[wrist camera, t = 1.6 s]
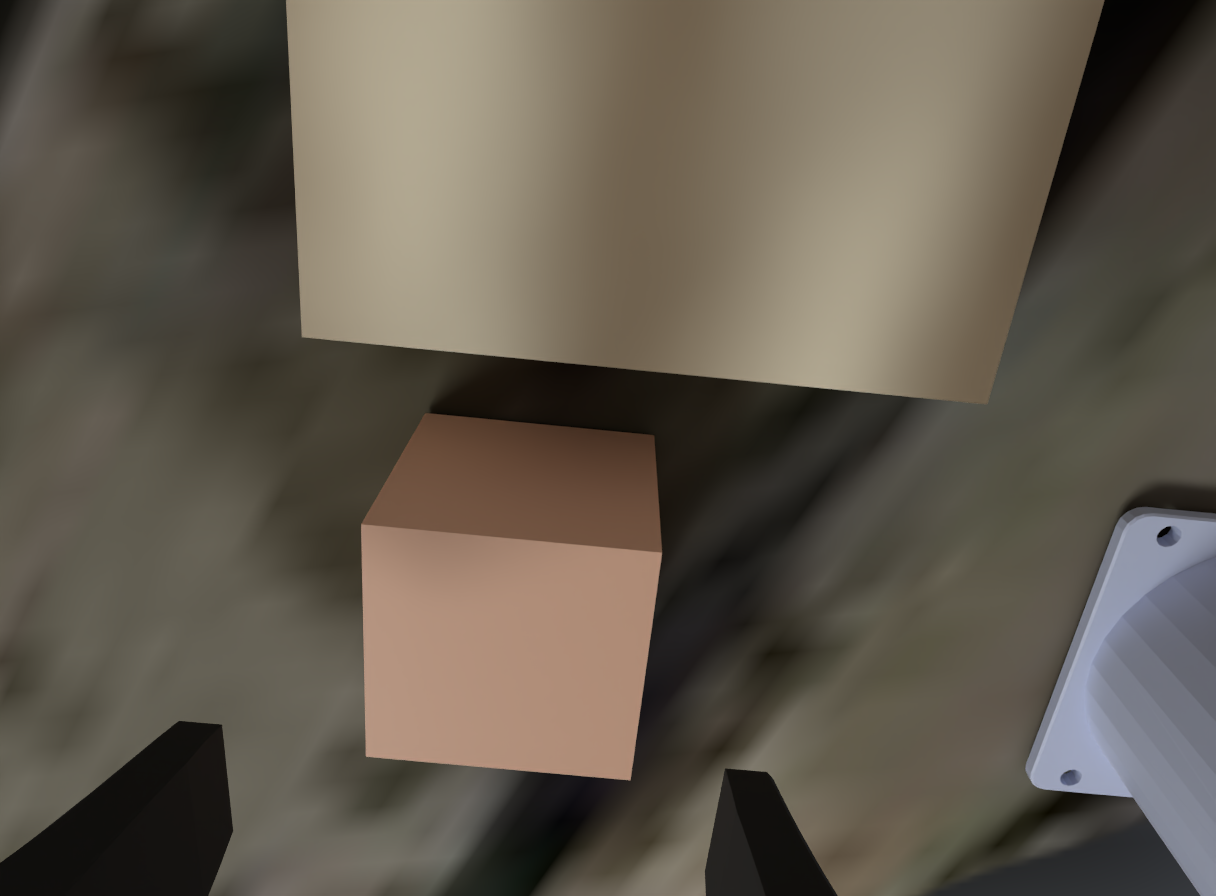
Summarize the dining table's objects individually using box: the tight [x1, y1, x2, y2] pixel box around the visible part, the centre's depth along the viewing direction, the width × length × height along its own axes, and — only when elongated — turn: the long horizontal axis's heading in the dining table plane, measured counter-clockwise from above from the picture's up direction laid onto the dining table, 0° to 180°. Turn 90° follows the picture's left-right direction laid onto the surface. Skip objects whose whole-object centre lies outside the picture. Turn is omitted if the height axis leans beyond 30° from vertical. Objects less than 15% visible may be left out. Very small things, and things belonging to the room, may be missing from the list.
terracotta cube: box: [361, 413, 662, 780], centre depth 18 cm, size 5×5×5 cm
